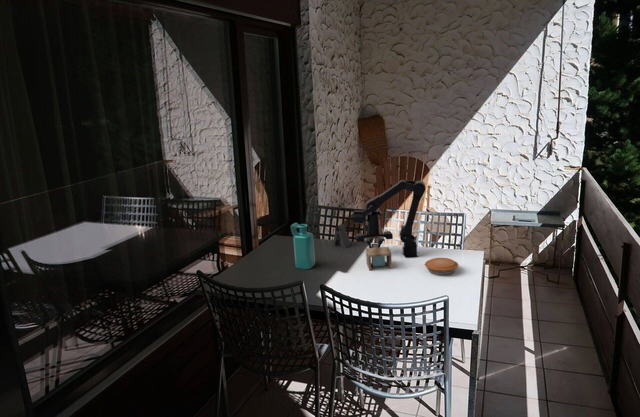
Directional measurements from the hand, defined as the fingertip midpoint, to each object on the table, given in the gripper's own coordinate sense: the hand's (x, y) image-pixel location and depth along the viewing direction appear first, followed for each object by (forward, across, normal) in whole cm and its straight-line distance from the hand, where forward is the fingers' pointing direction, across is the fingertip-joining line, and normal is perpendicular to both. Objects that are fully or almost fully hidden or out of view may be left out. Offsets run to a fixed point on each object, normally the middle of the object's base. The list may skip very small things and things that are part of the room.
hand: (374, 251), depth 271 cm
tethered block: (+2, 0, +7) cm, 7 cm away
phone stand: (+2, +16, -20) cm, 26 cm away
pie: (+2, -28, +28) cm, 40 cm away
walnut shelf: (+2, 0, +16) cm, 16 cm away
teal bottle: (+2, +37, +8) cm, 38 cm away
